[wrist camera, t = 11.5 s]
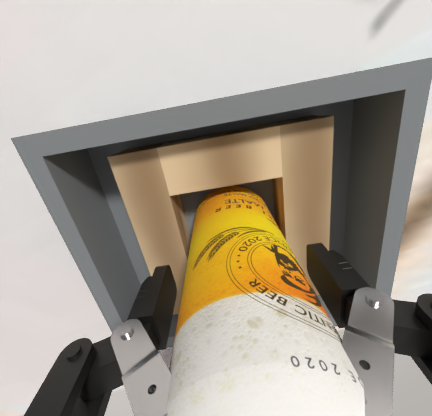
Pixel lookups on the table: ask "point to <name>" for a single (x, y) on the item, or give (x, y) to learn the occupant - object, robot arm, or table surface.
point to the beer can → (253, 323)
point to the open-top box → (230, 120)
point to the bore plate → (227, 176)
